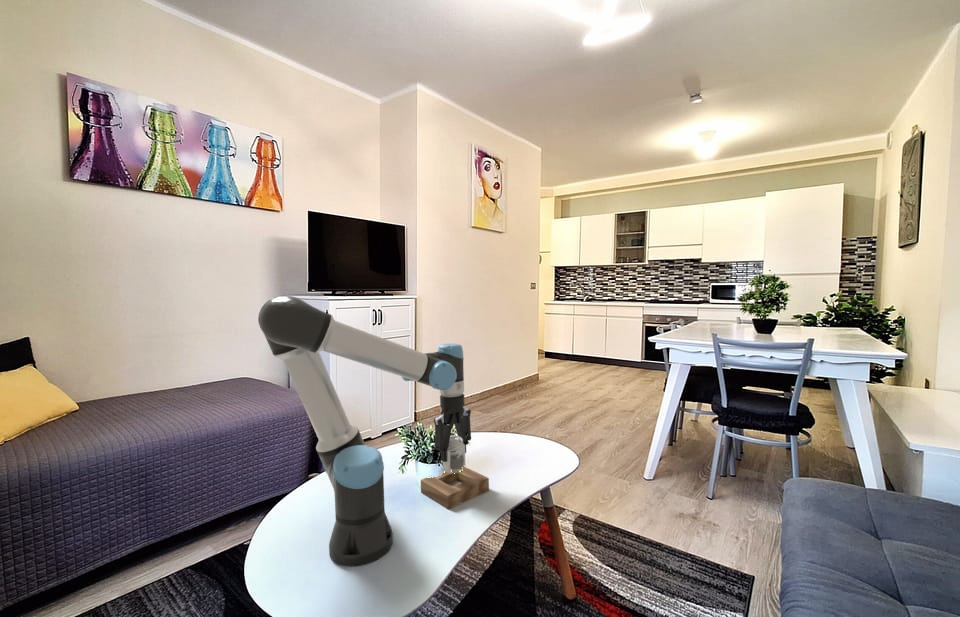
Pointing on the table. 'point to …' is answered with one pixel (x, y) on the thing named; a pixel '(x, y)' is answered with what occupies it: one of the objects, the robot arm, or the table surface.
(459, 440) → the light bulb
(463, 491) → the socket board
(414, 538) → the table surface
